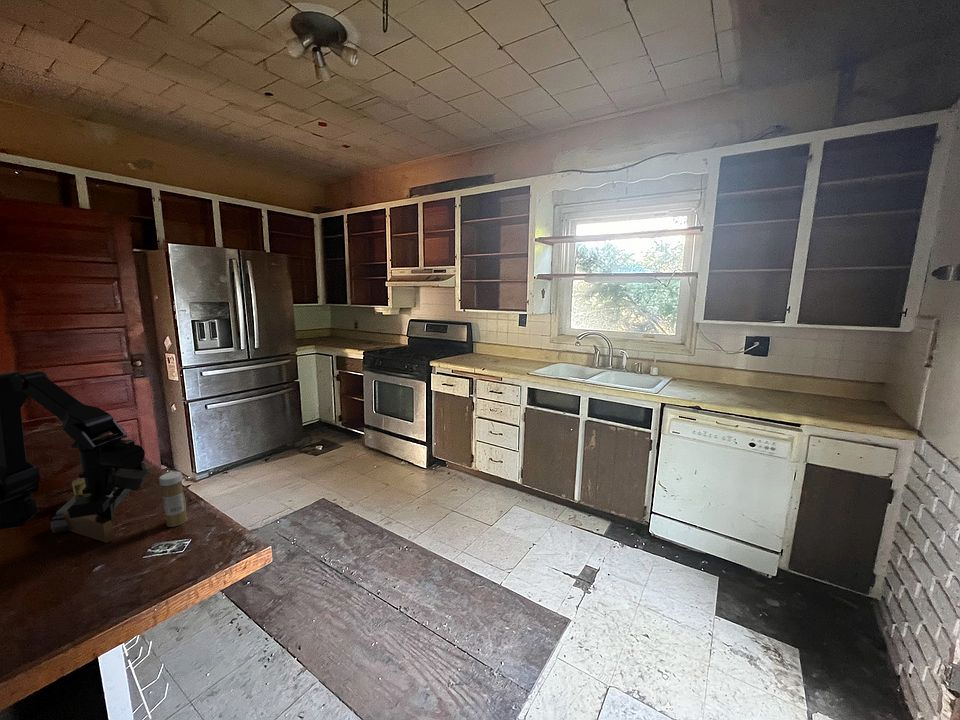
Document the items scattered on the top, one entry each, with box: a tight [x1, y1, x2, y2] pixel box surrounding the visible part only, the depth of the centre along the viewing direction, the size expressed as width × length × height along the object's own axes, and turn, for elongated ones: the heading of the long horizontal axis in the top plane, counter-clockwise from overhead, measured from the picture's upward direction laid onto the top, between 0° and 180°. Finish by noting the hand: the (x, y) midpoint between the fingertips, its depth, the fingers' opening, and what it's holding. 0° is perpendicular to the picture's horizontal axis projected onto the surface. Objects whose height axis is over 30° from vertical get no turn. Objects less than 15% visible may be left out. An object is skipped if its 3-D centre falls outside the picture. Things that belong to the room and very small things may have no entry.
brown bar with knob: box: [49, 510, 115, 544], centre depth 98 cm, size 20×5×5 cm, turn 71°
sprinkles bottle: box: [158, 471, 189, 528], centre depth 102 cm, size 5×5×13 cm
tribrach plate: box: [55, 478, 131, 515], centre depth 112 cm, size 12×12×6 cm
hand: (109, 521), depth 99 cm, fingers closed
